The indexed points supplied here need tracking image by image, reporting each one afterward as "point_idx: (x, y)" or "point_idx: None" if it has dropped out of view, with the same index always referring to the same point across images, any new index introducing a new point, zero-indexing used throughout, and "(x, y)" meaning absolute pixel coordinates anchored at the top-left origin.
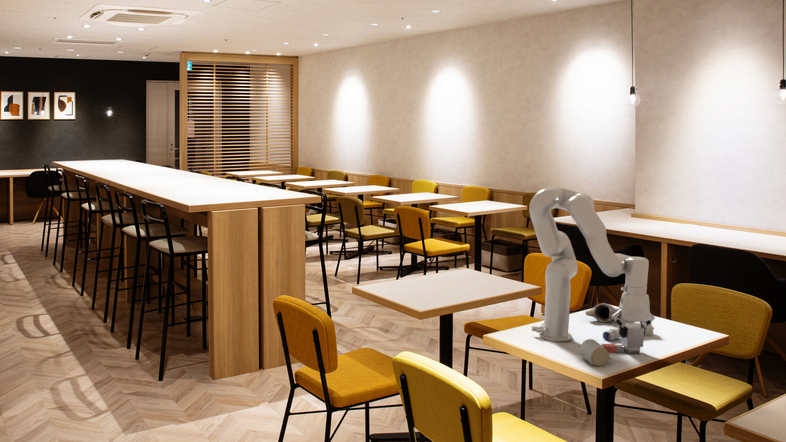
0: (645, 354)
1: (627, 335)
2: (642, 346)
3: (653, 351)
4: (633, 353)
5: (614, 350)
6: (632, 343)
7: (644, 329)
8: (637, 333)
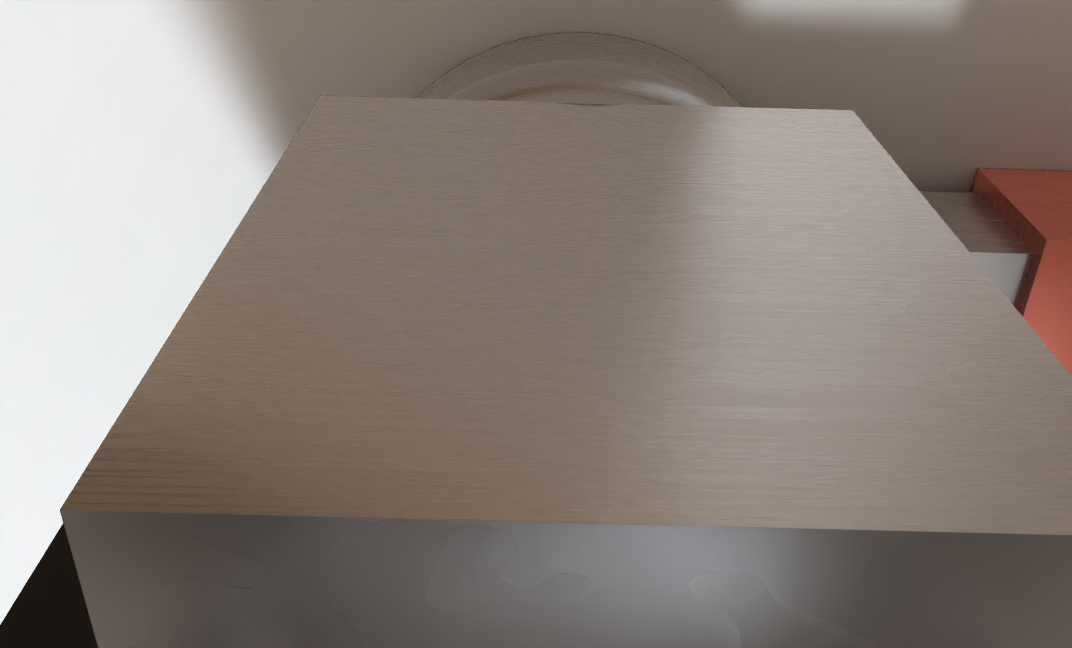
0: (269, 54)
1: (992, 315)
2: (337, 97)
3: (5, 263)
4: (609, 40)
5: (1061, 191)
6: (692, 144)
7: (45, 611)
8: (534, 334)
